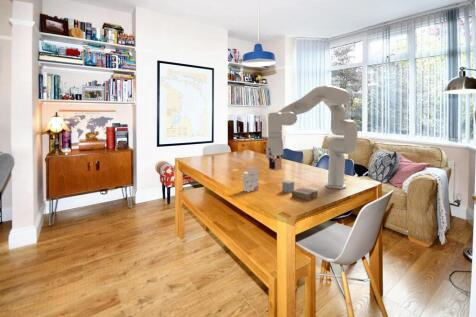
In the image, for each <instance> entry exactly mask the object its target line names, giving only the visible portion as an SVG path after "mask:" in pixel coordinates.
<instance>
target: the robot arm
mask: <svg viewBox="0 0 476 317" xmlns="http://www.w3.org/2000/svg"><path fill="white" fill-rule="evenodd" d="M350 101H351V95H350V92H349V91H348V90H346V89H344V88H340V87H337V86H333V85H330V84H329V85H321V86H316V87H315V88H312V90H310V91H309V92H307V93H306V94H305V95H303V96H302V97H301V98H299V99H297V100H295V101H294V102H292V103H290V104H288V105H286V106H285V107H283V108H281V109H280V110H278V112H277V111H276V112H269V113H268V115H267V132H268V133H267V140H266V149H265V150H266V151H265V153H266V154H265V155H266V156H265V158H267V160H268V169H269V168H270V169H275V162H274V158H280V159H282V158H283V155H284V141H283V126H286V127H287V126H293V125H295V124H296V123H297V121H298V117H297V115H301V114H304V113H308V112H310V111H311V110H313V108H315V107H316V106H317V105H319V104H320V103H322V102H323V103H324V105H325V106H326V107H328V109H329V111H330V114H331V118H330V131H331V133H332V134H333V135H335V136H337V137H335V136H334V137H331V138H330V139H329V141H328V144H327V148H328V169H327V170H328V172H327V173H328V174H327V182H326V183H325V184H324V186H325V187H327V188H330V189H335V190H342V189H346V188H347V185H346V184H345V181H346V179H345V165H346V157H345V155H352V154H354V153H355V152H356V150H357V148H358V133H359V132H358V130H359V129H358V125H357V123H356V122H355V121H354V120H353V119H352V120H351V119H347V110H346V107H345V106H346V105H347V104H348V103H349V102H350ZM339 136H343V137H339Z"/></svg>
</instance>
